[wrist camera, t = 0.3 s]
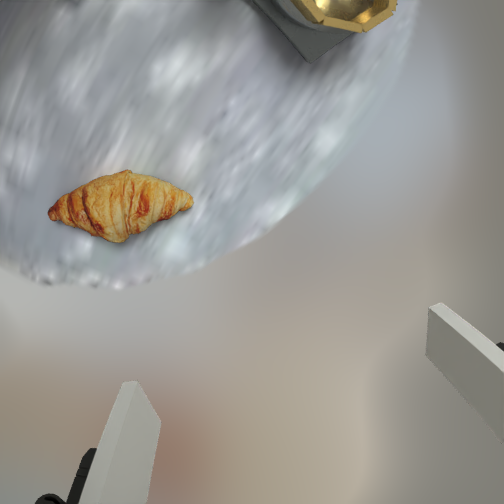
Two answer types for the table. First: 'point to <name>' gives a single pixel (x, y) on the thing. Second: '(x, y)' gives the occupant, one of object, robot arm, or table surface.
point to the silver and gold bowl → (324, 21)
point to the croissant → (120, 205)
